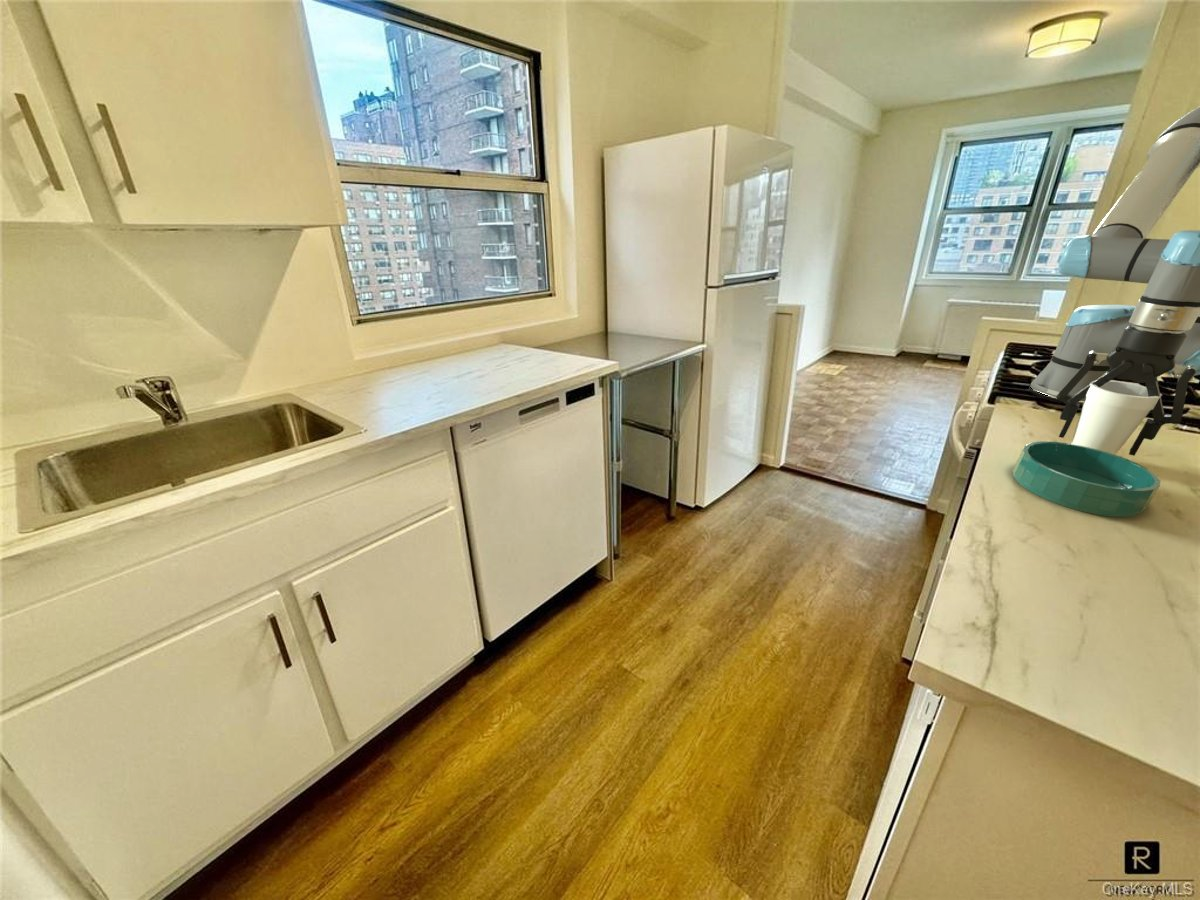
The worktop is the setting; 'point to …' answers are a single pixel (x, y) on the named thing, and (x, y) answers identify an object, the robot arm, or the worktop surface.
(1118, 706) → the worktop surface
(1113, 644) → the worktop surface
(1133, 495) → the teal plant saucer
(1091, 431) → the foam cup
